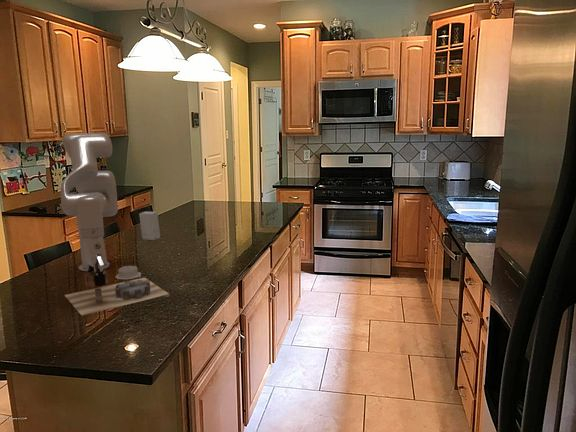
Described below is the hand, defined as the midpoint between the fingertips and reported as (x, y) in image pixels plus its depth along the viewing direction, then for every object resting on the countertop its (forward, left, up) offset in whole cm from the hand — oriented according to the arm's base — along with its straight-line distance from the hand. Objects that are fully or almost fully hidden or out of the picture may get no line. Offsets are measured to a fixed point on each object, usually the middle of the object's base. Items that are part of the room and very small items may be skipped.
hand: (97, 282), depth 160 cm
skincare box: (-80, +50, -8) cm, 95 cm away
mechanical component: (-22, +18, -9) cm, 30 cm away
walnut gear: (0, 0, 0) cm, 0 cm away
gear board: (-3, +7, -8) cm, 11 cm away
